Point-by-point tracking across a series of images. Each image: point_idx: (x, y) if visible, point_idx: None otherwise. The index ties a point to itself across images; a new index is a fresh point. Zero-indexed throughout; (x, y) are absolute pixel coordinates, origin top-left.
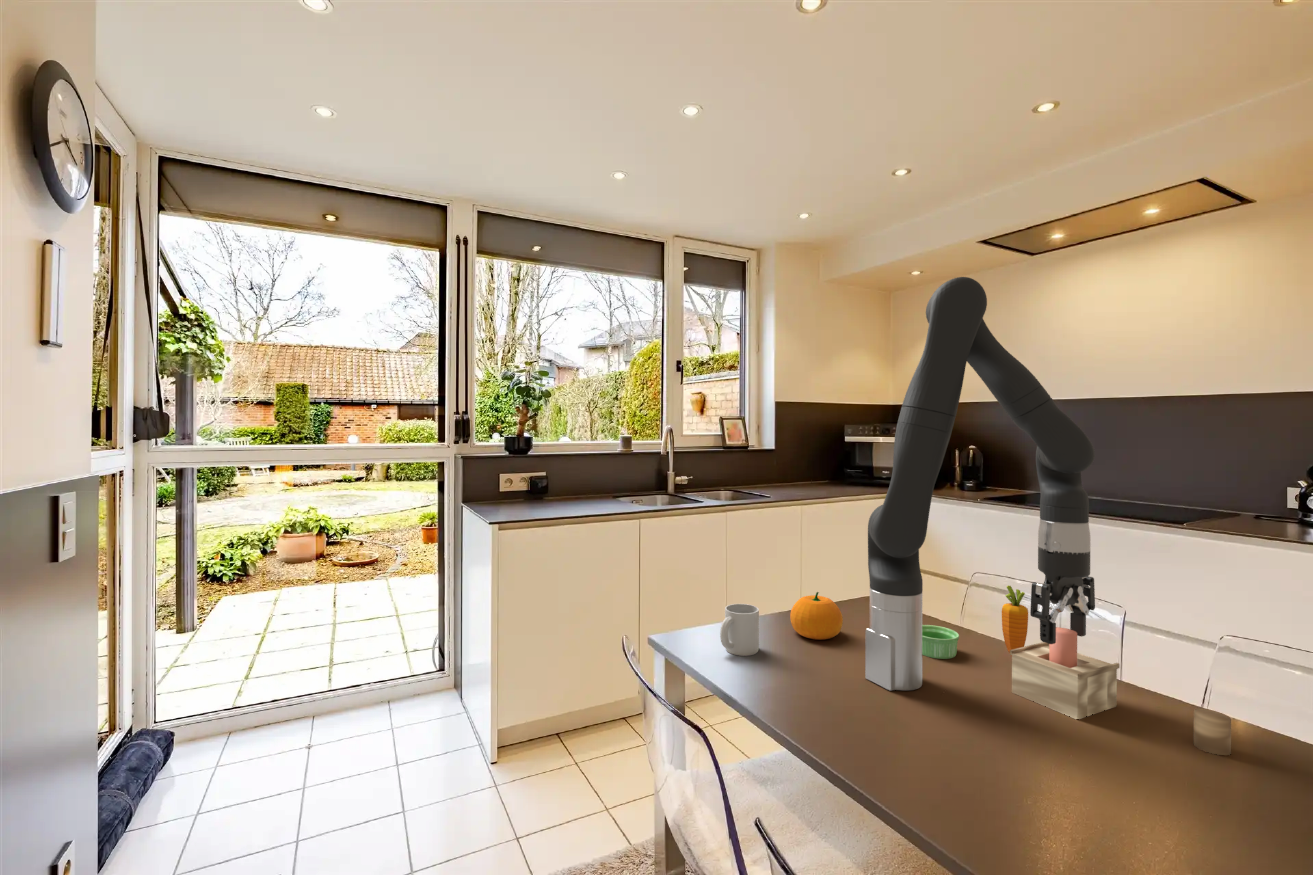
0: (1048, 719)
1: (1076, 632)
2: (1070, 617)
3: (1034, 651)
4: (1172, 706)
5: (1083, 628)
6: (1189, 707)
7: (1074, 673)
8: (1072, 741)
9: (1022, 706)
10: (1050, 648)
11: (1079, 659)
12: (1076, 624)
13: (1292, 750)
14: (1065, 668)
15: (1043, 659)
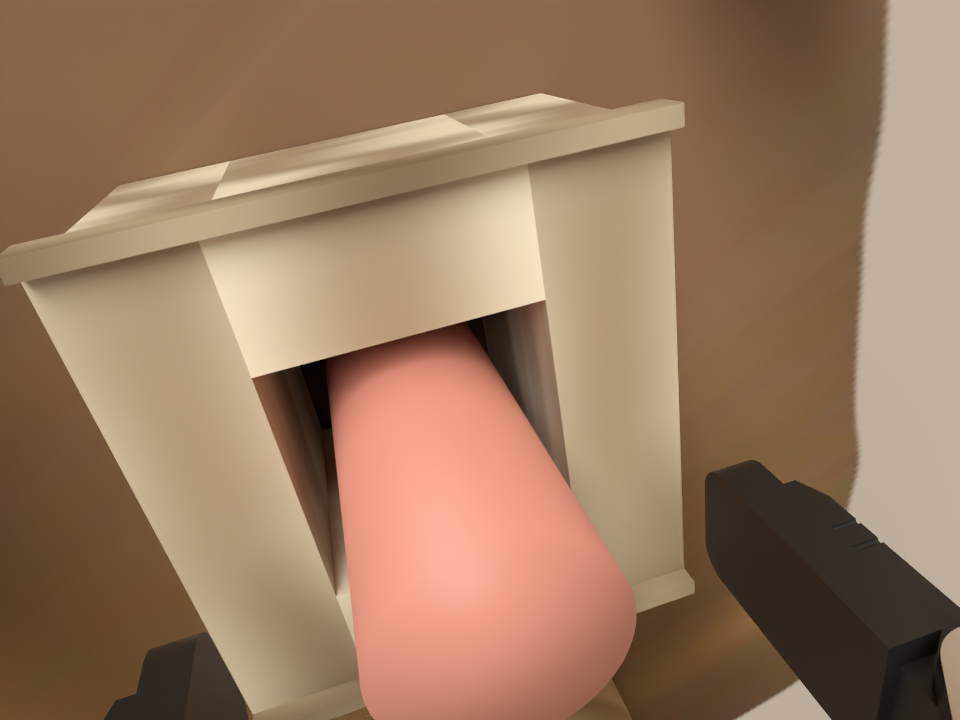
0: (105, 508)
1: (600, 686)
2: (833, 594)
3: (337, 262)
4: (793, 448)
5: (763, 626)
6: (838, 461)
7: (284, 667)
8: (68, 671)
9: (52, 369)
10: (352, 484)
11: (565, 460)
12: (779, 594)
13: (764, 690)
14: (293, 600)
15: (261, 442)
